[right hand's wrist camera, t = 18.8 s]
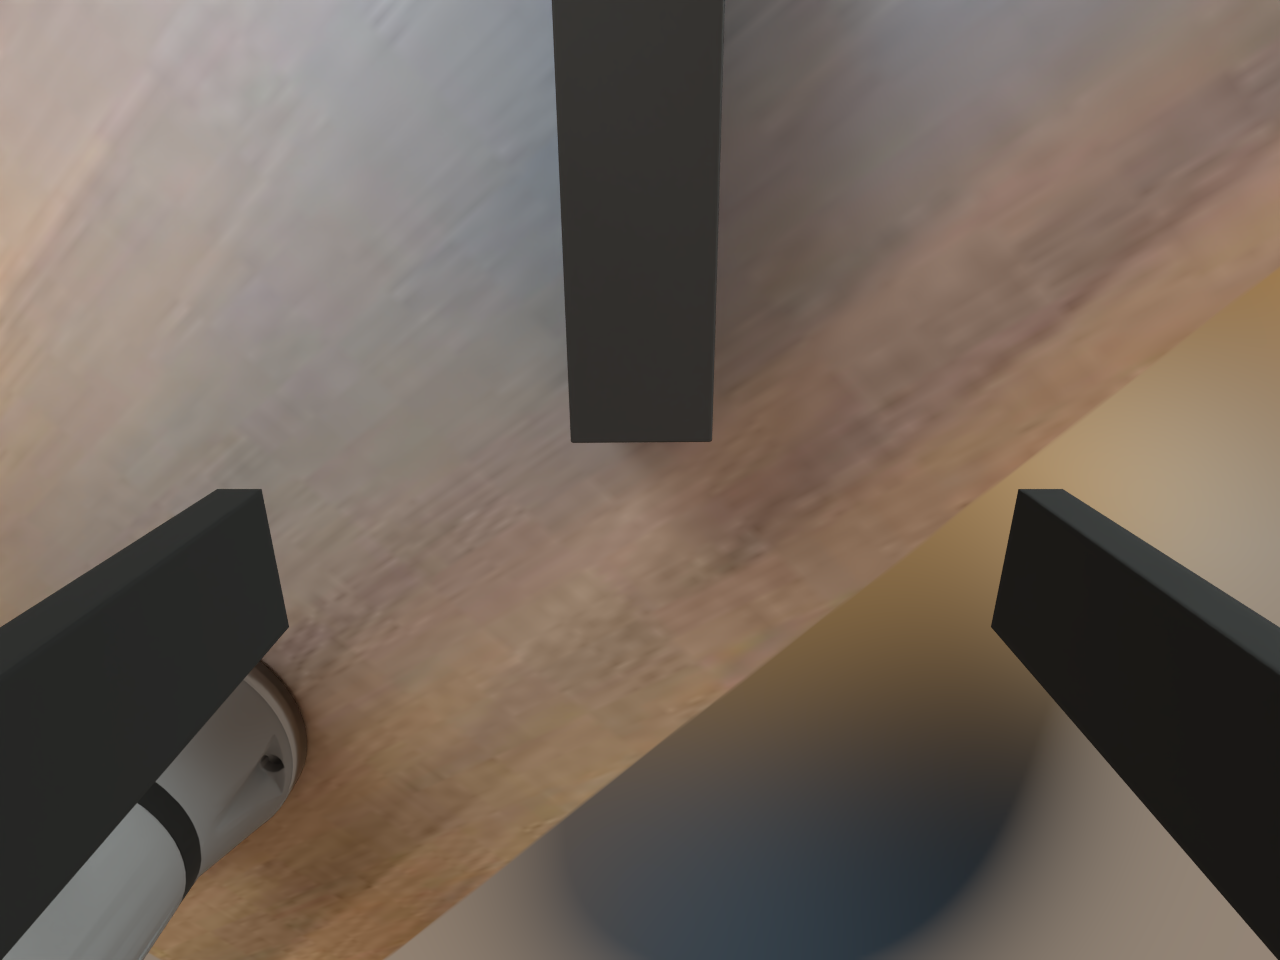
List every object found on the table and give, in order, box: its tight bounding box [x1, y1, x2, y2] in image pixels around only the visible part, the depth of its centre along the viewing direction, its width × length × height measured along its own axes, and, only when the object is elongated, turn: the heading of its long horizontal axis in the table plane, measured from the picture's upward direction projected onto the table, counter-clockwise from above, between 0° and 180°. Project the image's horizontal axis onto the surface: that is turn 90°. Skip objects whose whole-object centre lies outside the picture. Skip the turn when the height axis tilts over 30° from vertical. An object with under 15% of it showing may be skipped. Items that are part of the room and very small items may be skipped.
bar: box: [552, 0, 725, 443], centre depth 29 cm, size 26×6×9 cm, turn 0°
